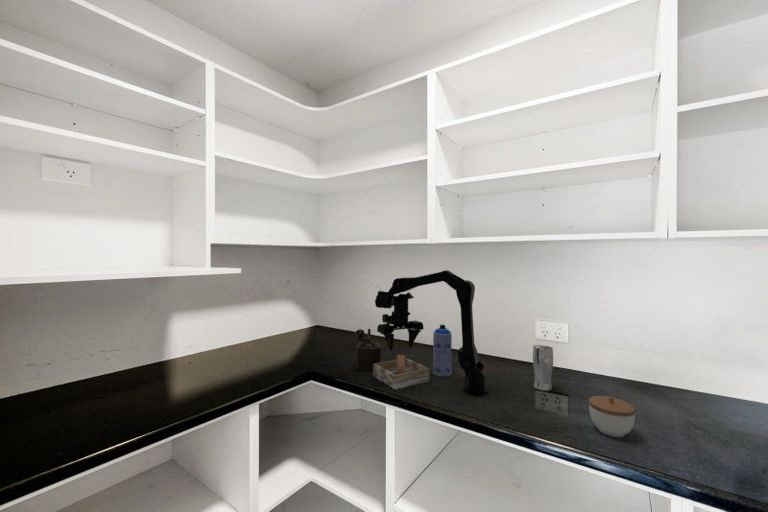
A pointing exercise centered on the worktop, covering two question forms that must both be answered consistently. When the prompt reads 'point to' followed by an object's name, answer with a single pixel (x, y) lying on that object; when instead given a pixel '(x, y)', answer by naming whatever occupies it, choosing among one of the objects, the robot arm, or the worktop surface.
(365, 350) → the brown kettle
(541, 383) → the beer glass
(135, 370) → the worktop surface
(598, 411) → the lidded jar
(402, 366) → the peg
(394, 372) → the tray
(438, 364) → the aerosol can
